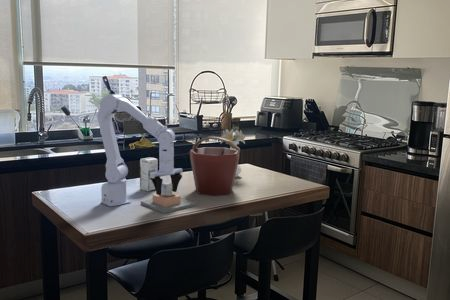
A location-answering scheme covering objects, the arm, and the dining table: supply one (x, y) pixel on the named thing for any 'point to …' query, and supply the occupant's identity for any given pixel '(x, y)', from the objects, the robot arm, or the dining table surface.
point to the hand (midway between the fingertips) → (166, 193)
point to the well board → (168, 203)
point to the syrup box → (147, 173)
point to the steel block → (166, 189)
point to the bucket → (214, 168)
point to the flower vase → (235, 138)
